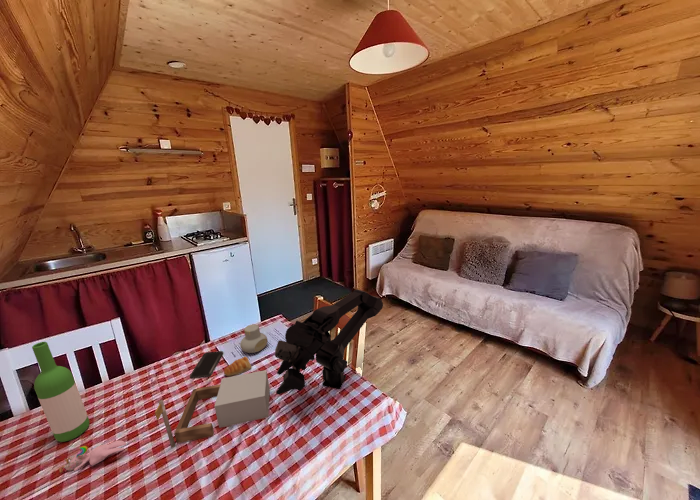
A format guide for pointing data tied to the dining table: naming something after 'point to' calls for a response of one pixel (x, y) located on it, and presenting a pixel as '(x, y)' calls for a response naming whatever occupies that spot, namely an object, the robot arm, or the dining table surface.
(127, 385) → the dining table surface
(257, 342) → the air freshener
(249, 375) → the beige box
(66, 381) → the wine bottle
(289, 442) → the dining table surface
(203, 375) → the phone
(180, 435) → the walnut pocket
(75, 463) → the rabbit figure
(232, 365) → the pastry
